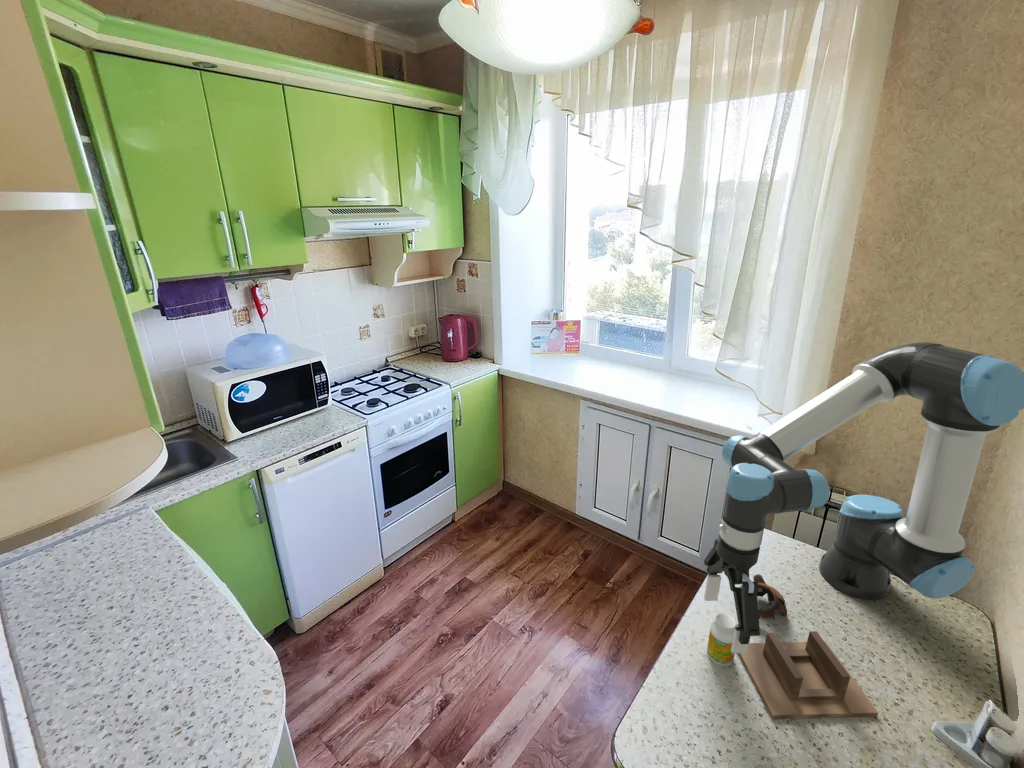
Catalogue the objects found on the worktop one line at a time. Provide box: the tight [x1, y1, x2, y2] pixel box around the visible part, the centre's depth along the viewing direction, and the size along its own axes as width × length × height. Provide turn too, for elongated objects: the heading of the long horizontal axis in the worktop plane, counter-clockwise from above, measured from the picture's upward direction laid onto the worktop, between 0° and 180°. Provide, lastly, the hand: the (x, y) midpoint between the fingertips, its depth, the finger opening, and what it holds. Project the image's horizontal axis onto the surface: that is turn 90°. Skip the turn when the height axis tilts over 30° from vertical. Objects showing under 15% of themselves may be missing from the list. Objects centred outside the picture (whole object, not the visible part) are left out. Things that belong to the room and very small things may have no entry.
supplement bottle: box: [706, 613, 737, 666], centre depth 102 cm, size 5×5×10 cm
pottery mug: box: [753, 574, 788, 621], centre depth 115 cm, size 12×10×8 cm
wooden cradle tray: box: [737, 630, 879, 720], centre depth 97 cm, size 20×16×7 cm
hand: (723, 624), depth 101 cm, fingers open, 13 cm apart
